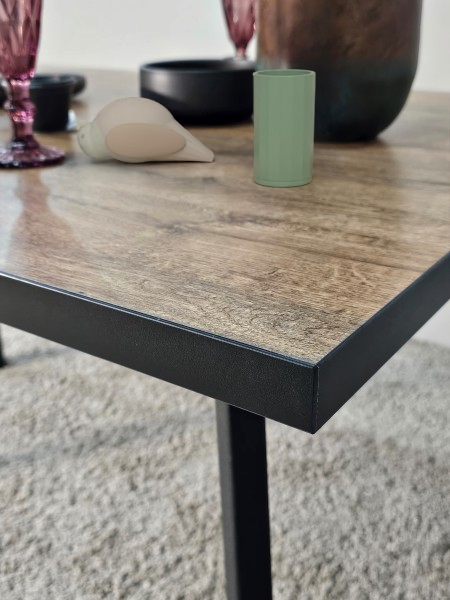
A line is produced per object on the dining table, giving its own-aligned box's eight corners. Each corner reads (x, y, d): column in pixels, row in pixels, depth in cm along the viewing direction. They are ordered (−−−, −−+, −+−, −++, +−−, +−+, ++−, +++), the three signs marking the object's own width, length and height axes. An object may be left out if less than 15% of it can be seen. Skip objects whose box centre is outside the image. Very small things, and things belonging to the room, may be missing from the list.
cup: (245, 184, 77) (244, 75, 73) (264, 171, 83) (264, 68, 78) (303, 189, 75) (305, 76, 71) (318, 175, 81) (321, 69, 76)
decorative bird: (81, 156, 92) (75, 94, 89) (210, 151, 93) (208, 89, 90) (77, 173, 84) (70, 105, 81) (218, 166, 85) (216, 99, 82)
